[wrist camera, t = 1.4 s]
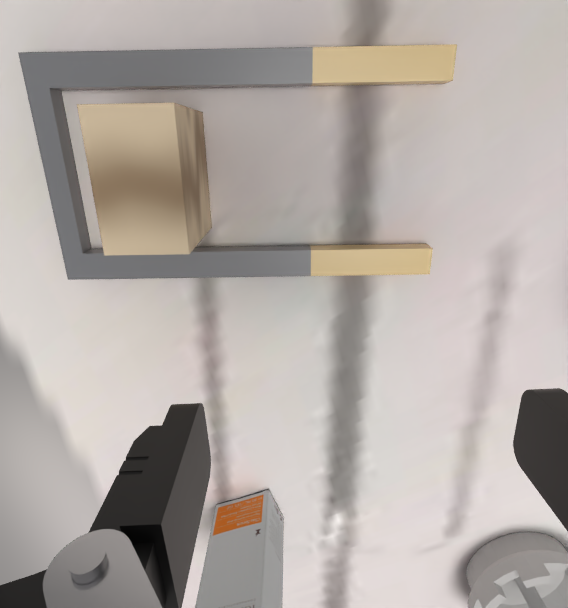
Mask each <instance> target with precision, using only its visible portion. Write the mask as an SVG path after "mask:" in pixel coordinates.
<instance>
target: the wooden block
mask: <svg viewBox="0 0 568 608" xmlns="http://www.w3.org/2000/svg"><path fill="white" fill-rule="evenodd" d="M77 108H78V113H79V119H80V124H81V130H82V135H83V141H84V146H85V152H86V157H87V163H88V168H89V174H90V179H91V185H92V191H93V196H94V202H95V207H96V213H97V218H98V224H99V229H100V235H101V240H102V246H103V251H104V256H106V255H174V254H190V253H191V252H192V251H193V249H194V248H195V247H196V246H197V245H198V243H199V242H200V241H201V240H202V239H203V237H204V236H205V235H206V234H207V233H208V231H209V230H210V229H211V228H212V224H211V211H210V199H209V187H208V174H207V162H206V149H205V137H204V124H203V112H200V111H197V110H194V109H191V108H188V107H185V106H182V105H179V104H176V103H130V104H77Z"/></svg>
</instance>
